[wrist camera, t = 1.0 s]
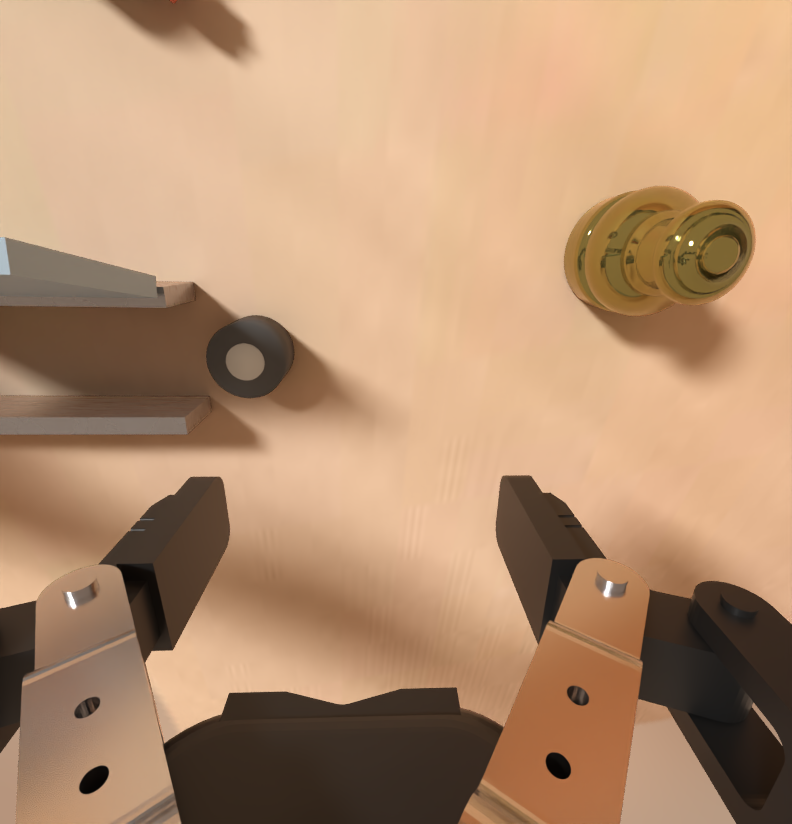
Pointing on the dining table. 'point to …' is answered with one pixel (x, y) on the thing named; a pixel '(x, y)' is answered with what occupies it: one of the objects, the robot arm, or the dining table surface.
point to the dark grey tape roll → (250, 356)
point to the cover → (66, 275)
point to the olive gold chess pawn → (658, 251)
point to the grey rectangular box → (104, 410)
